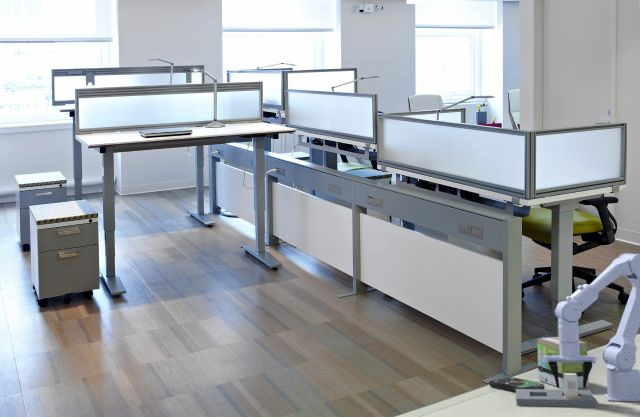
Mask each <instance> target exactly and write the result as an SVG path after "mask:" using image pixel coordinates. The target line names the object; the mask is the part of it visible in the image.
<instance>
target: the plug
mask: <svg viewBox="0 0 640 417" xmlns="http://www.w3.org/2000/svg"><path fill="white" fill-rule="evenodd" d="M563 374H564V389H563V390H564V396H570V397H578V390H579V388H578V381H577V374H576V373H563Z"/></svg>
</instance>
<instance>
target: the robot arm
mask: <svg viewBox="0 0 640 417" xmlns="http://www.w3.org/2000/svg"><path fill="white" fill-rule="evenodd" d="M620 277H626V278H627V279H628V281H629V282H630V284H631V286H632V287H631V291H630V293H629V297H628V300H627V302H626V305H625V308H624V310H623V313H622V317H621V318H620V319H621V320H620V322H619V325H618V328H617V331H616V333H615V335H613V337H611V338H610V340H609V342H608V344H607V345H606V346H605V347H604V348H603V350H602V353H601V357H602V360H603V362H604V363H605V364H606V388H607V390H606V391H607V393H605V394H604V396H605V397H606V399H607V401H609V402H640V369H635V368H634V367H635V365H636V363H637V362H636V361H637V357H636V353H637V349H638V347H637V345H636V343H635V341H636V337H637V334H638V331H639V328H640V253H628V252H625V253H622V254H620V255H619V256H618V257H617V258H615V259H613V260H612V262H611V263H610V265H609V266H608V267H606V268H605V269H604V270H603V271H602V272H601V273H600V274H599V275H598V276H597V277H596V278H594V280H593V281H592V282H591V283H590V284H587V283H583V284H582V285H581V284H579V285H578V286H577V289H576V290H575V291H574V292H573V293H572V294H571V295H570V296H569V295H567V296H566V297H565V299H566V300H563V301H562V300H561V301H560V302H558V304H557V305H556V307H555V309H554V316H556V318H557V320H558V337H559V348H560V355H552V356H545V363H548V364H549V366H550V368H551V370H552V373H553V375H554V378H555V381H556V386H555V388H556V389H557V388H558V389H560V388H559V380H558V365H557V363H582V367H583V387H582V389H587V387H586V384H587V379H588V378H589V376H590V373H591V370H593V369H592V368H593V364H597V357H596V355H588V356H584V355H580V349H579V341H580V336H579V335H580V331H579V320H580V319H581V316H582V314H583V313H582V312H584V311H585V310H587V308H589V307H590V306H591V305H592V304H593V303H594V302H596V301H597V300H598V299H599V292H601V291H603V290H604V289H605V288H606V287H607V286H609V285H610V284H612V283H613V282H614V281H615V280H616V279H617V278H620ZM564 360H567V361H564ZM576 360H577V361H576Z"/></svg>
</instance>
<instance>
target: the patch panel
mask: <svg viewBox="0 0 640 417" xmlns="http://www.w3.org/2000/svg"><path fill="white" fill-rule="evenodd" d="M515 398H516V399H515V400H516V406H519V407H521V406H523V407H524V406H526V407H530V406H531V407H533V406H534V407H563V408H564V407H566V408H567V407H569V408H576V407H577V408H596V399H595V397H594V396H593V393H592V392H591V390H590V389H578V397H570V396H564V389H516V393H515Z"/></svg>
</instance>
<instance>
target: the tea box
mask: <svg viewBox="0 0 640 417" xmlns="http://www.w3.org/2000/svg"><path fill="white" fill-rule="evenodd" d="M536 342H537V343H536V347H537V366H538V367H537V371H538V381H539V382H543V383H546V384H548V385H551V386H554V387H556V381H555V378H554V375H553V373H552V370H551V368H550V366H549V364H548V363H545V356H552V355H560V348H559V336H553V337H552V336H551V337H550V336H549V337H542V338H536ZM579 349H580V355H584V356H589V355H588V342H587V341H586V342H585V341H581V340H579ZM564 361H567V360H564ZM576 361H577V360H576ZM557 365H558V380H559V388H558V389H560V390H564V374H563V373H576V374H577V381H578V389H580V388H581V389H583V367H582V363H557ZM589 379H590V378H589V377H588V379H587V384H586V388H587V387H589V386H590V384H589Z"/></svg>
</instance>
